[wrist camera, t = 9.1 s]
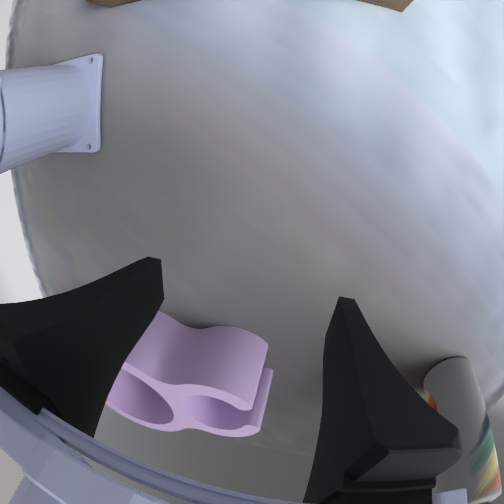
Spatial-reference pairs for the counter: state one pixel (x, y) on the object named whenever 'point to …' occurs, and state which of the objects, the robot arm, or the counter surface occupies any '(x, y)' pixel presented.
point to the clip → (194, 379)
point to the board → (389, 0)
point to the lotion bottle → (465, 430)
